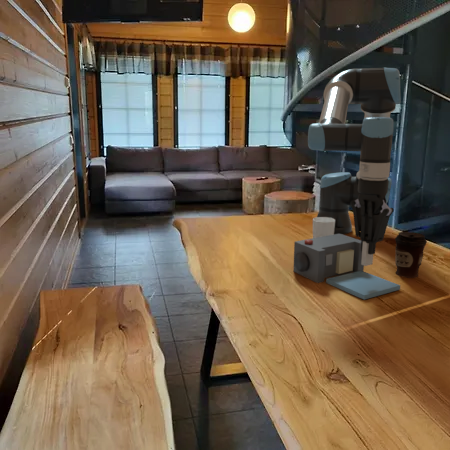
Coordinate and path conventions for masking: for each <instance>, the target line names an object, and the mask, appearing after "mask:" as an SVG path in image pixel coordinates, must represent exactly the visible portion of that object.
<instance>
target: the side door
mask: <svg viewBox="0 0 450 450" xmlns="http://www.w3.org/2000/svg"><path fill="white" fill-rule="evenodd" d="M325 280H326V281H325V284H328V285H331V286H333V287H334V288H337V289H340V290H341V291H343V292H346V293H348V294H350V295H353V296H355V297H357V298H359V299H362V300H368V299H371V298H374V297H379V296H381V295H386V294H389V293H392V292H396V291H399V290H401V284H399V283H398V284H397V282H396V283H395V282H392V281H390V280H387V279H384V278H383V277H379V276H376V275H374V274H371V273H368V272H366V271H365V270H364V271H357V272H353V271H352V272H348V273H344V274H340V275H336V276H331V277H327V278H325Z"/></svg>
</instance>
